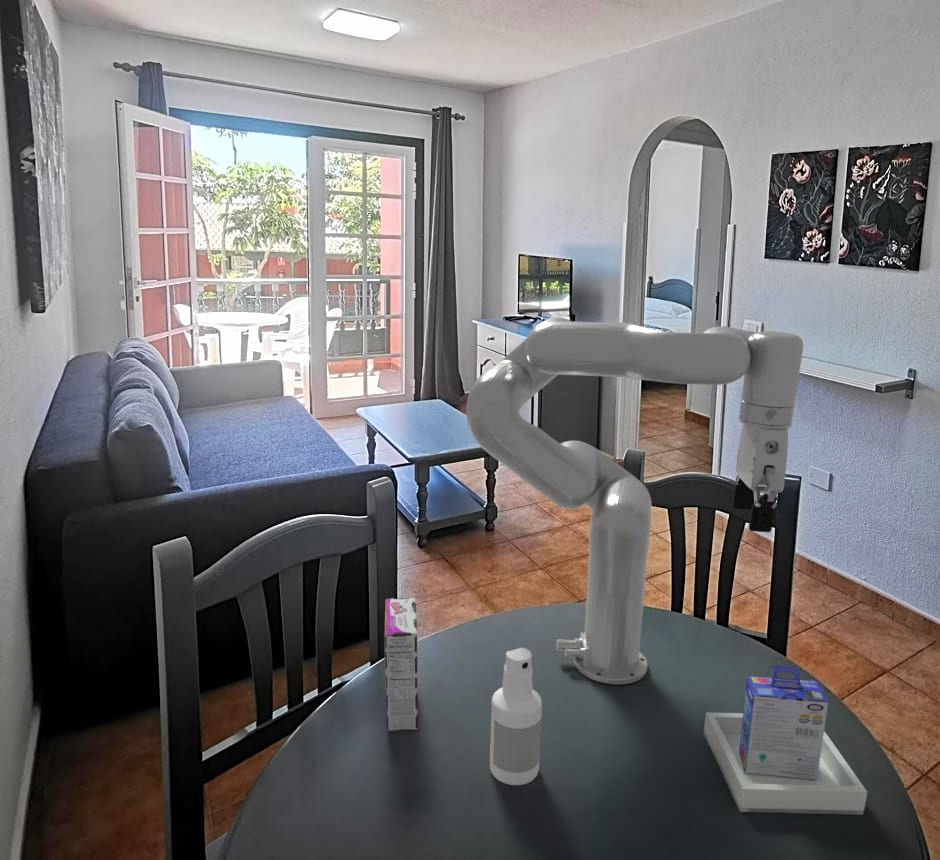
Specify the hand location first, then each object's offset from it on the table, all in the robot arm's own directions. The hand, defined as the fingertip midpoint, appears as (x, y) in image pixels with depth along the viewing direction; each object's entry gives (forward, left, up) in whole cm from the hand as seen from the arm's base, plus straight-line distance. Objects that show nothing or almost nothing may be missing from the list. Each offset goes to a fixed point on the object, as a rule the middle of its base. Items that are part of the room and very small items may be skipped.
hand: (750, 519), depth 118 cm
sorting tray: (0, -21, -29) cm, 36 cm away
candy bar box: (-54, -9, -30) cm, 63 cm away
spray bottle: (-37, -22, -30) cm, 53 cm away
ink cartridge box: (0, -21, -29) cm, 36 cm away
